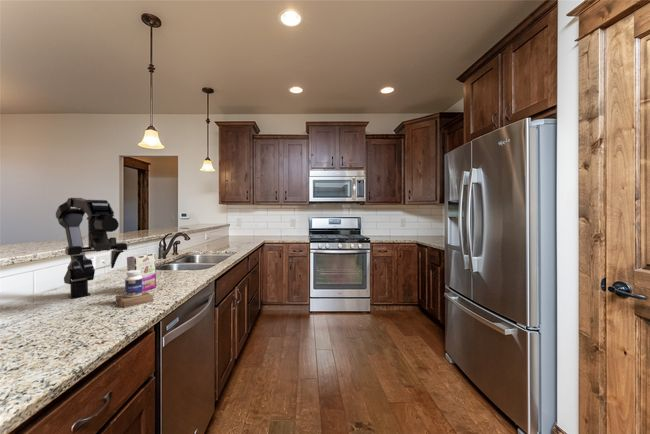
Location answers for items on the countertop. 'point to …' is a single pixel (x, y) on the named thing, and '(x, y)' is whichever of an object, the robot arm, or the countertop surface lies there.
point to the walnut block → (134, 299)
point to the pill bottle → (133, 283)
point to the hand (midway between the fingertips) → (98, 269)
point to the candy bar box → (144, 269)
